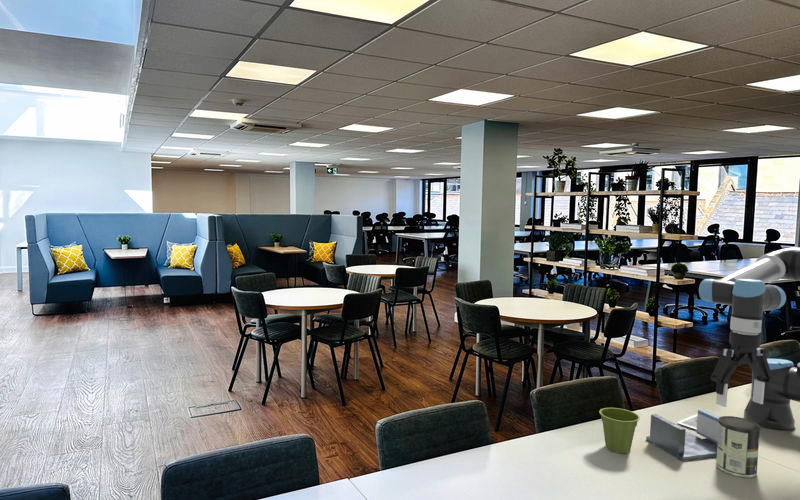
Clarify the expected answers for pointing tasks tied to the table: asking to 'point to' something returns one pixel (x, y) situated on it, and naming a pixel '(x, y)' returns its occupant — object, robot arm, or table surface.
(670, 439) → the vise base
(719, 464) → the coffee can
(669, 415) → the table surface
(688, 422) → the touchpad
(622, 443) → the plant pot
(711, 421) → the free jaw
